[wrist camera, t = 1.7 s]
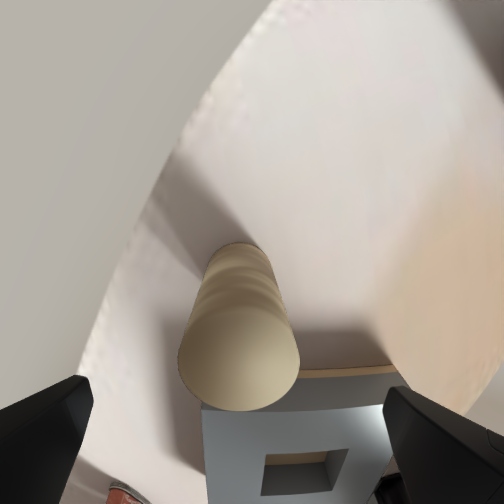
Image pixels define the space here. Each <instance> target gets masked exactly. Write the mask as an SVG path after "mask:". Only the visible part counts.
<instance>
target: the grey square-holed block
mask: <svg viewBox="0 0 504 504" xmlns="http://www.w3.org/2000/svg"><path fill="white" fill-rule="evenodd" d="M397 385H404V386H405V387H407V388H409V389H411V388H410V387H409V385H408V384H407V383H406V381H405V380H404V378H403V377H402V376H401V374H400V373H399V372H398V370H397V369H396V368H395V366H394V365H385V366H374V367H360V368H345V369H324V370H299V372H298V375H297V378H296V380H295V382H294V384H293V385H292V387H291V388H290V389H289V391H288V392H287V393H286V394H285V395H284V396H282V397H281V398H280V399H278V400H277V401H275V402H274V403H272V404H270V405H268V406H265V407H262V408H259V409H255V410H250V411H228V410H223V409H219V408H216V407H213V406H211V405H208V404H207V403H205V402H203V401H202V406H201V420H202V435H203V449H204V462H205V474H206V485H207V495H208V504H366V502H367V501H368V499H369V497H370V496H371V494H372V492H373V491H374V489H375V487H376V485H377V484H378V482H379V480H380V478H381V476H382V475H383V473H384V471H385V469H386V467H387V465H388V463H389V462H390V460H391V458H392V456H393V451H392V448H391V444H390V440H389V436H388V432H387V428H386V425H385V421H384V417H383V413H382V408H383V404H384V401H385V398H386V396H387V393H388V390H389V388H390V387H392V386H397ZM411 390H412V389H411Z"/></svg>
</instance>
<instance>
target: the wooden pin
mask: <svg viewBox="0 0 504 504" xmlns="http://www.w3.org/2000/svg"><path fill="white" fill-rule="evenodd" d="M299 367H300V357H299V352H298V348H297V345H296V342H295V338H294V335H293V332H292V329H291V326H290V323H289V320H288V317H287V313H286V310H285V307H284V304H283V301H282V298H281V295H280V292H279V289H278V285H277V282H276V279H275V276H274V273H273V270H272V267H271V264H270V262H269V259H268V258H267V256H266V255H265V254H264V253H263V252H262V251H261V250H260V249H259V248H257V247H255V246H254V245H251V244H248V243H241V242H239V243H231V244H228V245H225V246H223V247H222V248H220V249H219V250H218V251H216V252H215V254H214V255H213V256H212V257H211V259H210V261H209V264H208V267H207V270H206V272H205V275H204V278H203V281H202V284H201V286H200V289H199V292H198V295H197V298H196V301H195V304H194V307H193V310H192V313H191V315H190V318H189V321H188V324H187V327H186V330H185V333H184V336H183V339H182V342H181V345H180V348H179V352H178V370H179V373H180V376H181V378H182V380H183V382H184V384H185V385H186V387H187V388H188V389H189V390H190V392H191V393H192V394H194V395H195V396H196V397H197V398H198V399H200V400H201V401H203V402H205V403H207V404H208V405H211V406H213V407H216V408H219V409H223V410H228V411H250V410H255V409H259V408H262V407H265V406H268V405H270V404H272V403H274V402H275V401H277V400H278V399H280V398H281V397H282V396H284V395H285V394H286V393H287V392H288V391H289V389H290V388H291V387H292V385H293V384H294V382H295V380H296V378H297V375H298V372H299Z"/></svg>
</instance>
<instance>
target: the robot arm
mask: <svg viewBox="0 0 504 504" xmlns="http://www.w3.org/2000/svg"><path fill="white" fill-rule="evenodd" d="M93 403H94V400H93V395H92V391H91V387H90V384H89V380H88V378H87V377H85V376H80V375H73V376H71V377H69V378H67V379H65V380H63V381H61V382H59V383H56V384H54V385H52V386H50V387H48V388H46V389H44V390H42V391H40V392H38V393H35V394H33V395H31V396H29V397H27V398H25V399H23V400H21V401H18V402H16V403H14V404H12V405H10V406H8V407H5V408H3V409H1V410H0V504H59V502H60V499H61V496H62V494H63V491H64V488H65V486H66V483H67V480H68V478H69V475H70V472H71V470H72V467H73V465H74V462H75V460H76V457H77V455H78V452H79V450H80V447H81V445H82V442H83V438H84V435H85V431H86V428H87V424H88V421H89V417H90V414H91V411H92V407H93ZM382 413H383V417H384V421H385V425H386V428H387V432H388V436H389V440H390V444H391V448H392V451H393V454H394V457H395V460H396V462H397V465H398V468H399V470H400V474H396V475H392V476H387V477H384V478H382V479H381V480H380V481H379V483H378V485H377V487H376V488H375V490H374V492H373V493H372V495H371V497H370V498H369V500H368V502H367V503H366V504H504V436H502V435H499V434H497V433H495V432H493V431H491V430H489V429H487V430H486V428H485V427H483V426H481V425H479V424H477V423H475V422H473V421H471V420H469V419H467V418H465V417H463V416H461V415H459V414H457V413H455V412H453V411H451V410H449V409H447V408H445V407H443V406H441V405H439V404H438V403H436V402H434V401H432V400H430V399H428V398H426V397H424V396H422V395H420V394H419V393H417V392H415V391H413V390H411V389H409V388H407V387H405V386H404V385H397V386H392V387H390V388H389V390H388V393H387V396H386V398H385V401H384V404H383V408H382Z"/></svg>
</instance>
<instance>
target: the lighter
mask: <svg viewBox="0 0 504 504" xmlns="http://www.w3.org/2000/svg"><path fill="white" fill-rule="evenodd" d="M109 491H110V493H109V496H108V499H107V502H106V504H151V503H150V502H149V501H148V500H147V499H146V498H145V497H144V496H142V495H141V494H140V493H139V492H137V491H136V490H134V489H133V488H132V487H130V486H129V485H127V484H125V483H122V482H116V481H115V482H112V483H111V485H110V488H109Z"/></svg>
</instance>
